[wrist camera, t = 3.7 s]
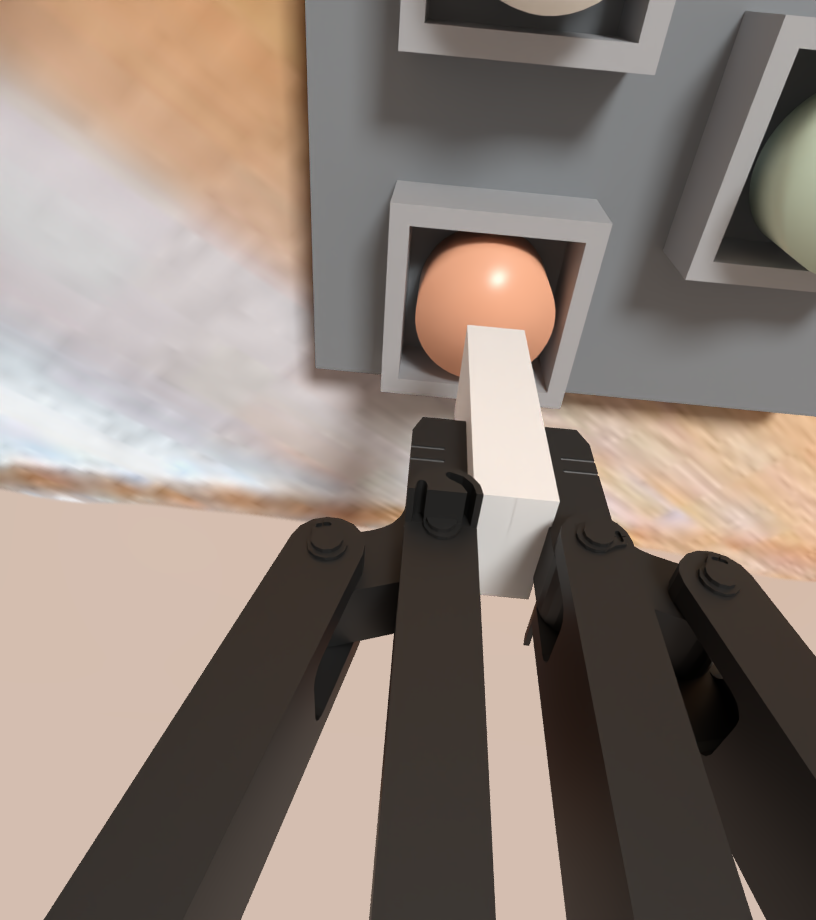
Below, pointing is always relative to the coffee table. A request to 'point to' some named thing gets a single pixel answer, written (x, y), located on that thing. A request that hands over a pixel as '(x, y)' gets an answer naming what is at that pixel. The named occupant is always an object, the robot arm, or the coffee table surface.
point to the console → (565, 187)
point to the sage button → (789, 185)
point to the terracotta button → (482, 294)
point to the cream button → (551, 6)
